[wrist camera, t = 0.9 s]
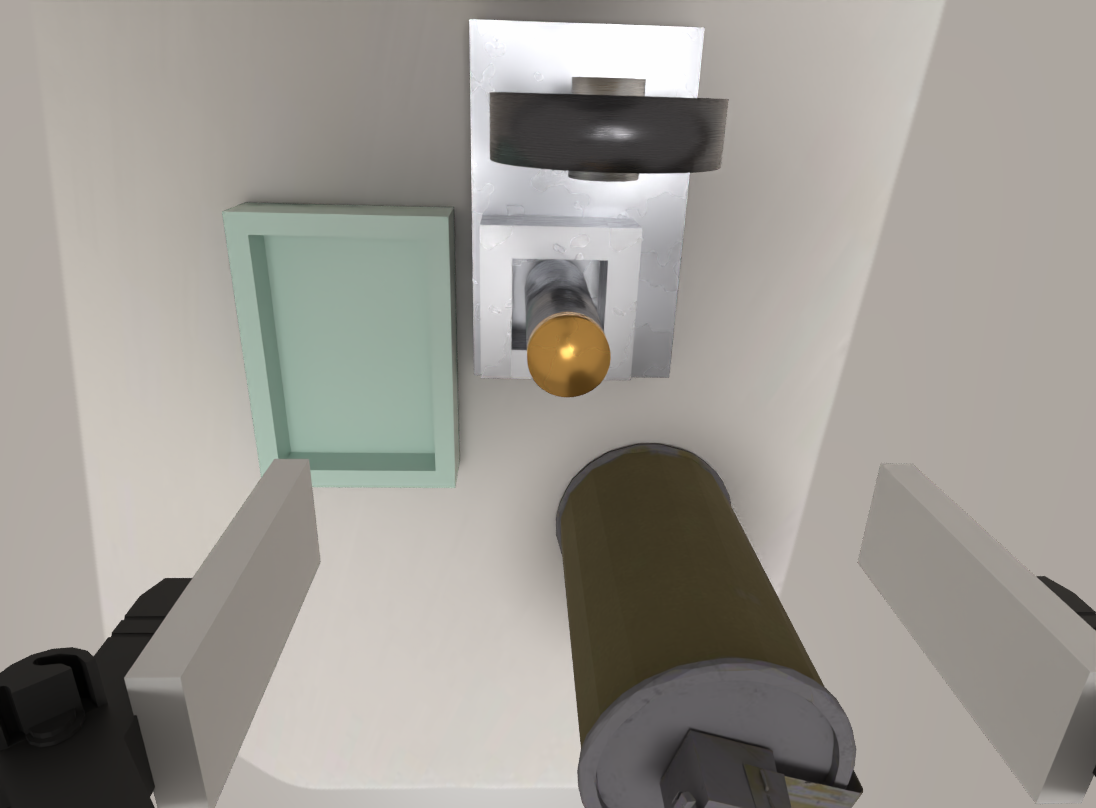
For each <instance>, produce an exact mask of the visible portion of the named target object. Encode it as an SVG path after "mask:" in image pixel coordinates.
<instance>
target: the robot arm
mask: <svg viewBox="0 0 1096 808" xmlns="http://www.w3.org/2000/svg"><path fill="white" fill-rule="evenodd" d="M320 562H321V561H320V552H319V543H318V534H317V525H316V517H315V508H314V499H313V490H312V481H311V472H310V463H309V459H274V460H273V462H272V463H271V464H270V466H269V467H268V469H267V470H266V472H265V473H264V475H263V476H262V478H261V479H260V481H259V482H258V483H257V485H256V486H255V488H254V489H253V491H252V492H251V494H250V495H249V497H248V498H247V499H246V501H245V502H244V504H243V505H242V507H241V508H240V510H239V511H238V513H237V514H236V515H235V517H234V518H233V520H232V521H231V523H230V524H229V526H228V527H227V529H226V530H225V532H224V533H223V534H222V536H221V537H220V539H219V540H218V542H217V543H216V545H215V546H214V548H213V549H212V550H211V552H210V553H209V555H208V556H207V558H206V559H205V561H204V562H203V564H202V565H201V566H200V568H199V569H198V571H197V572H196V574H195V575H194V577H193V578H165V579H163V580H162V581H161V582H159V583H158V584H156V585H155V586H153V587H152V588H151V589H149V590H148V591H146V592H145V593H144V594H142V595H141V596H140V597H139V598H138V599H137V601H136V602H135V603H134V605H133V606H132V607H131V608H130V610H129V611H128V612H127V614H126V615H125V618H124V620H121V622H120V623H119V624H118V625H117V627H116V628H115V629H114V631H113V632H112V636H111V637H108V638H107V640H106V641H105V642H104V644H103V645H102V646H101V648H100V649H99V650H98V652H97V653H96V654H95V655H94V657H93V656H92V655H91V654H90V653H89V652H88V651H86V650H81V649H77V648H73V647H71V648H60V649H59V648H58V649H51V650H47V651H44V652H40V653H37V654H33V655H30V656H29V657H26V658H25V659H22V660H20V661H18V662H16V663H14V664H12V665H10V666H9V667H8V668H6V669H5V670H4V671H2V672H1V673H0V808H154V805H153V803H152V801H151V799H150V796H151V794H152V792H154V796H155V800H156V804H157V807H158V808H215V806H216V803H217V801H218V799H219V796H220V794H221V792H222V790H223V787H224V785H225V783H226V780H227V778H228V775H229V773H230V771H231V769H232V766H233V764H234V762H235V759H236V757H237V755H238V752H239V750H240V748H241V745H242V743H243V741H244V739H245V736H246V734H247V732H248V729H249V727H250V725H251V722H252V720H253V718H254V715H255V713H256V711H257V708H258V706H259V704H260V701H261V699H262V697H263V694H264V692H265V690H266V687H267V685H268V683H269V681H270V678H271V676H272V674H273V671H274V669H275V667H276V664H277V662H278V660H279V657H280V655H281V653H282V650H283V648H284V646H285V643H286V641H287V639H288V636H289V634H290V632H291V629H292V627H293V625H294V623H295V620H296V618H297V616H298V613H299V611H300V609H301V606H302V604H303V602H304V599H305V597H306V595H307V592H308V590H309V588H310V585H311V583H312V581H313V578H314V576H315V574H316V571H317V569H318V567H319V565H320ZM858 564H859V565H860V566H861V568H862V569H863V571H864V572H865V573H866V575H867V576H868V577H869V578H870V580H871V581H872V583H873V584H874V585H875V587H876V588H877V590H878V591H879V592H880V594H881V595H882V596H883V598H884V599H885V600H886V602H887V603H888V604H889V606H890V607H891V609H892V610H893V611H894V612H895V614H896V615H897V617H898V618H899V619H900V621H901V622H902V623H903V625H904V626H905V627H906V629H907V630H908V632H909V633H910V634H911V636H912V637H913V638H914V640H915V641H916V642H917V644H918V645H919V646H920V648H921V649H922V650H923V652H924V653H925V654H926V656H927V657H928V659H929V660H930V661H931V662H932V664H933V665H934V667H935V668H936V669H937V671H938V672H939V673H940V675H941V676H942V678H943V679H944V680H945V681H946V683H947V684H948V686H949V687H950V688H951V690H952V691H953V692H954V694H955V695H956V696H957V698H958V699H959V701H960V702H961V703H962V704H963V706H964V707H965V709H966V710H967V711H968V713H969V714H970V715H971V717H972V718H973V719H974V721H975V722H976V724H977V725H978V726H979V728H980V729H981V730H982V732H983V733H984V734H985V736H986V737H987V738H988V740H989V741H990V742H991V744H992V745H993V747H994V748H995V749H996V751H997V752H998V753H999V754H1000V756H1001V757H1002V759H1003V760H1004V761H1005V763H1006V764H1007V766H1008V767H1009V768H1010V769H1011V771H1012V772H1013V774H1014V775H1015V776H1016V778H1017V779H1018V780H1019V782H1020V783H1021V784H1022V786H1023V787H1024V789H1025V790H1026V791H1027V793H1028V794H1029V795H1030V797H1031V798H1032V799H1033V801H1034V802H1035V803H1036V804H1059V803H1060V804H1062V803H1082V801H1083V798H1084V796H1085V794H1086V792H1087V789H1088V787H1089V785H1090V782H1091V781H1092V778H1093V776H1094V775H1095V777H1096V612H1095V611H1094V610H1092V608H1091V607H1089V606H1088V605H1087V604H1086V603H1085V602H1084V601H1083V600H1081V599H1080V598H1079V597H1078V596H1077V595H1076V594H1075V593H1073V592H1071V591H1070V590H1068V589H1066V588H1064V587H1063V586H1061V585H1059V584H1057V583H1056V582H1054V581H1052V580H1050V579H1048V578H1047V577H1045V576H1035V575H1034V574H1033V573H1032V572H1030V570H1028V569H1027V568H1026V567H1025V566H1024V565H1023V564H1022V563H1021V562H1020V561H1019V560H1017V559H1016V558H1015V557H1014V556H1013V555H1012V554H1011V553H1010V552H1009V551H1007V549H1005V548H1004V547H1003V546H1002V545H1001V544H1000V543H999V542H998V541H997V540H996V539H995V538H993V537H992V536H991V535H990V534H989V533H988V532H987V531H986V530H985V529H984V528H982V527H981V526H980V525H979V524H978V523H977V522H976V521H975V520H974V519H973V518H972V517H970V516H969V515H968V514H967V513H966V512H965V511H964V510H963V509H961V507H959V506H958V505H957V504H956V503H955V502H954V501H953V500H952V499H951V498H950V497H949V496H947V495H946V494H945V493H944V492H943V491H942V490H941V489H940V488H939V487H937V486H936V485H935V484H934V483H933V482H932V481H931V480H930V479H929V478H928V477H927V476H925V475H924V474H923V473H922V472H921V471H920V470H919V469H918V468H917V467H916V466H915V465H913V464H887V463H886V464H883V463H881V464H880V468H879V473H878V477H877V481H876V485H875V490H874V494H873V499H872V503H871V507H870V511H869V515H868V520H867V524H866V528H865V532H864V537H863V541H862V546H861V550H860V554H859V558H858Z"/></svg>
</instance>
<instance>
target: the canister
mask: <svg viewBox="0 0 1096 808" xmlns="http://www.w3.org/2000/svg"><path fill="white" fill-rule="evenodd" d="M556 536H557V539H558V543H559V546H560V550H561V553H562V557H563V567H564V577H565V588H566V598H567V608H568V619H569V629H570V639H571V650H572V660H573V670H574V681H575V691H576V701H577V711H578V722H579V732H580V742H581V752H580V758H579V764H578V770H577V773H578V787H579V791H580V796H581V800H582V803H583V805H584V807H585V808H852V806H853V805H854V804H855V802H856V801H857V800H858V798H859V797H860V796H861V794H862V793H863V788H862V786H861V784H860V782H859V780H858V778H857V776H856V774H855V772H854V770H853V769H854V766H855V757H856V746H855V741H854V735H853V730H852V727H851V724H850V722H849V719H848V717H847V715H846V714H845V712H844V710H843V709H842V707H841V706H840V704H839V702H838V701H837V699H836V698H835V697H834V696H833V695H832V694H831V693H830V692H829V691H828V690H827V689H826V688H825V687H824V685H823V683H822V681H821V679H820V677H819V675H818V673H817V671H816V669H815V667H814V665H813V664H812V662H811V660H810V658H809V656H808V654H807V652H806V650H805V648H804V646H803V644H802V642H801V640H800V639H799V637H798V635H797V633H796V631H795V629H794V627H793V625H792V623H791V621H790V619H789V617H788V616H787V613H786V612H785V610H784V608H783V606H782V604H781V602H780V600H779V598H778V596H777V594H776V592H775V590H774V588H773V586H772V585H771V583H770V581H769V579H768V577H767V575H766V573H765V571H764V569H763V567H762V565H761V563H760V561H759V559H758V558H757V556H756V554H755V552H754V550H753V548H752V546H751V544H750V542H749V540H748V538H747V536H746V534H745V533H744V531H743V529H742V527H741V525H740V523H739V521H738V519H737V517H736V515H735V513H734V511H733V509H732V507H731V502H730V497H729V494H728V492H727V490H726V487H725V485H724V483H723V481H722V480H721V478H720V477H719V476H718V474H717V473H716V472H715V471H714V470H713V469H712V468H711V467H710V466H709V465H708V464H707V463H706V462H704V461H703V460H702V459H700V458H699V457H697V456H696V455H694V454H693V453H690V452H687V451H683V450H679V449H676V448H672V447H669V446H665V445H659V444H637V445H633V446H629V447H626V448H622V449H618V450H615V451H611V452H608V453H606V454H605V455H603V456H601V457H600V458H598V459H597V460H595V461H594V462H592V463H590V464H589V465H588V466H587V467H586V468H584V469H583V470H582V471H581V472H580V473H579V474H578V475H577V476H576V477H575V478H573V479H572V481H571V483H570V485H569V486H568V488H567V490H566V492H565V494H564V496H563V498H562V500H561V502H560V505H559V509H558V513H557V517H556Z"/></svg>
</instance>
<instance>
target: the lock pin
mask: <svg viewBox="0 0 1096 808" xmlns="http://www.w3.org/2000/svg"><path fill="white" fill-rule="evenodd" d="M525 314H526V343H527V364H528V369H529V372H530V374H531V376H532V378H533V380H534V381H535V382H536V383H537V384H538V386H540V387H541V388H542V389H543V390H545V391H546V392H548V393H550V394H553V395H556V396H560V397H576V396H580V395H583V394H586V393H588V392H590V391H591V390H593V389H594V388H596V387H597V386H598V385H599V384H600V383H601V382H602V380H603V379H604V378H605V376H606V374H607V372H608V370H609V366H610V361H611V353H610V347H609V344H608V341H607V338H606V336H605V333H604V330H603V328H602V325H601V322H600V319H599V317H598V314H597V311H596V308H595V306H594V303H593V300H592V298H591V295H590V292H589V289H588V287H587V284H586V281H585V279H584V276H583V274H582V273H581V271H580V270H579V269H578V268H577V267H576V266H575V265H574V264H572V263H570V262H569V261H566V260H562V259H550V260H546V261H543V262H541V263H539V264H538V265H537V266H535V267H534V268H533V269H532V270H531V272H530V273H529V275H528V277H527V279H526V283H525Z"/></svg>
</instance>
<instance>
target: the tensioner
mask: <svg viewBox="0 0 1096 808" xmlns="http://www.w3.org/2000/svg"><path fill="white" fill-rule="evenodd" d="M704 29H705V28H701V27H673V26H645V25H618V24H590V23H562V22H534V21H506V20H478V19H469V30H470V107H471V183H472V259H473V336H474V375H481V378H502V379H533V378H532V376H531V374H530V372H529V369H528V364H527V343H526V314H525V283H526V279H527V277H528V275H529V273H530V272H531V270H532V269H533V268H534V267H535V266H537V265H538V264H539V263H541V262H543V261H546V260H550V259H562V260H566V261H569V262H570V263H572V264H574V265H575V266H576V267H577V268H578V269H579V270H580V271H581V273H582V274H583V276H584V279H585V281H586V284H587V287H588V289H589V292H590V295H591V298H592V300H593V303H594V306H595V308H596V311H597V314H598V317H599V319H600V322H601V325H602V328H603V330H604V333H605V336H606V338H607V341H608V344H609V347H610V353H611V361H610V366H609V370H608V372H607V374H606V376H605V378H604V379H603V380H631V377H660V378H669V373H670V363H671V353H672V344H673V334H674V324H675V314H676V304H677V295H678V285H679V275H680V265H681V255H682V245H683V236H684V226H685V216H686V206H687V196H688V187H689V177H690V173H694V172H706V171H713V170H717V169H720V168H721V159H722V151H723V142H724V134H725V125H726V117H727V108H728V100H729V99H710V98H698V88H699V78H700V69H701V59H702V49H703V39H704Z"/></svg>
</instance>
